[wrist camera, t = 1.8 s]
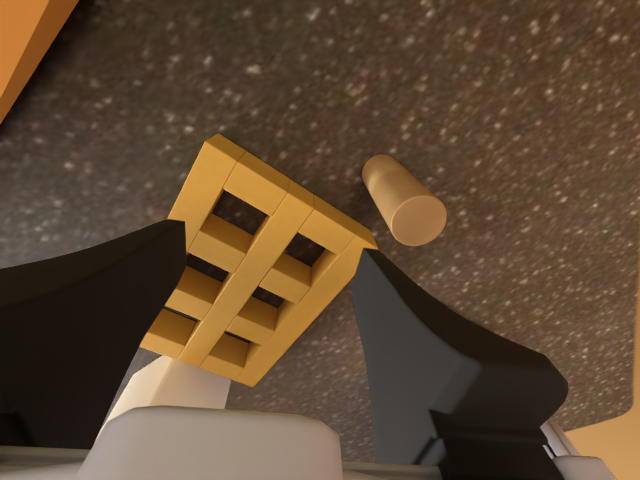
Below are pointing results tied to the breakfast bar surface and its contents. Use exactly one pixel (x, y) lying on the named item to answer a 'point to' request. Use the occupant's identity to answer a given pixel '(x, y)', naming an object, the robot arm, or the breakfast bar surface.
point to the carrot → (26, 41)
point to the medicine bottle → (172, 387)
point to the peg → (403, 201)
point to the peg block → (251, 266)
